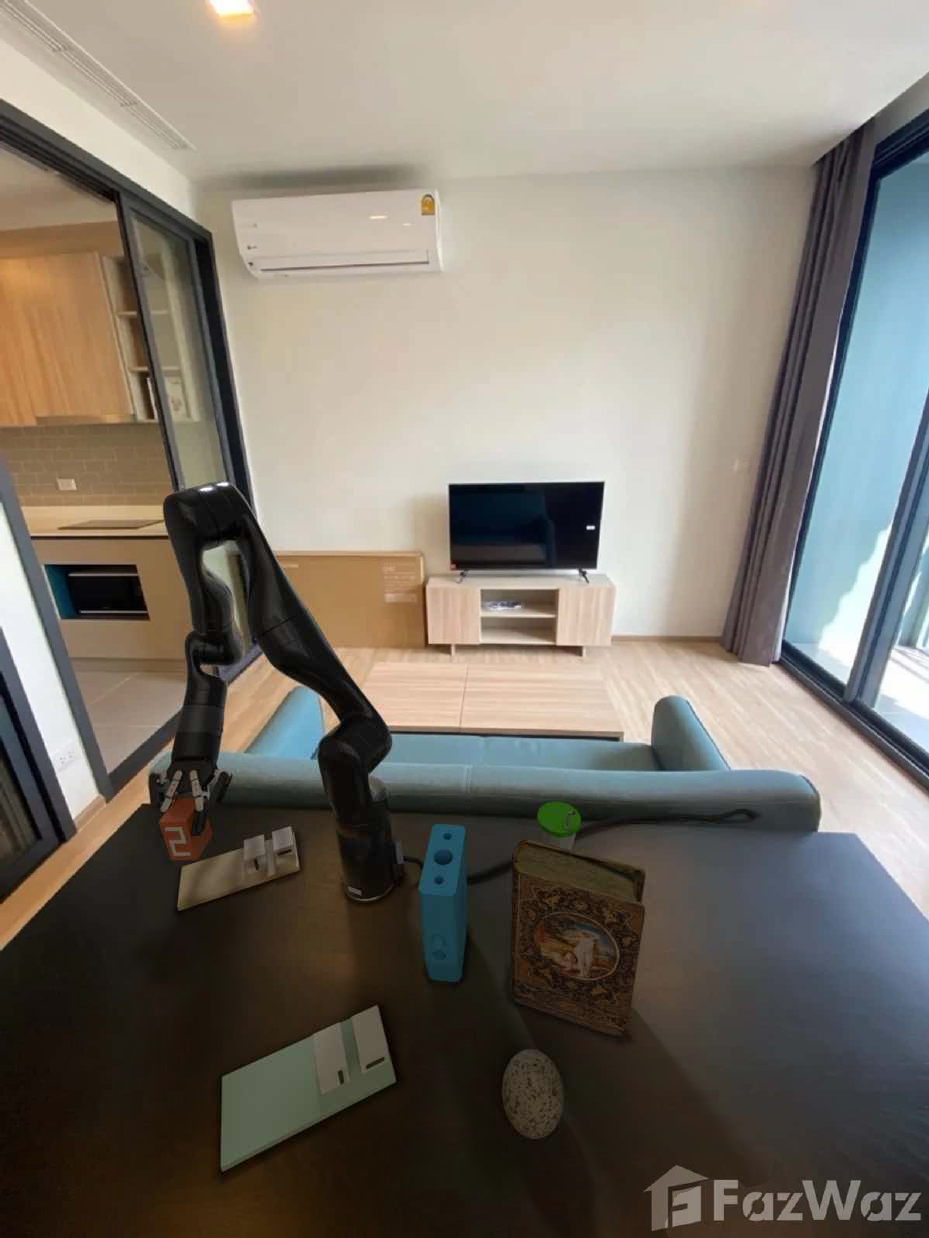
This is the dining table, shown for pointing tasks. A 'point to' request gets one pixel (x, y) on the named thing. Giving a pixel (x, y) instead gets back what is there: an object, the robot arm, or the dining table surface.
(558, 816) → the cup
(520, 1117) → the decorative egg
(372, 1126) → the dining table surface
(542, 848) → the book
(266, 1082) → the switch panel board
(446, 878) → the block
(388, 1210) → the dining table surface
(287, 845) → the beige switch panel
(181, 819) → the orange red rectangular block
